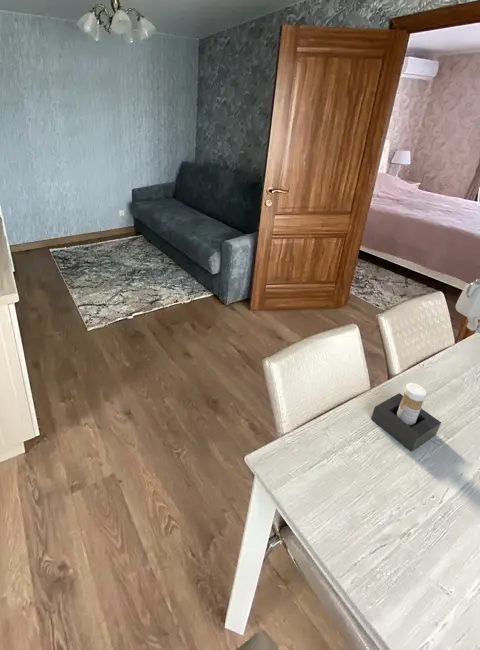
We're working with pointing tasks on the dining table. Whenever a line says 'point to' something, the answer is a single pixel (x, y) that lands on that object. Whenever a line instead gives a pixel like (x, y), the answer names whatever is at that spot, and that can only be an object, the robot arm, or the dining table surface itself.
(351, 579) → the dining table surface
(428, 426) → the socket block
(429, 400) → the dining table surface
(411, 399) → the sprinkles bottle
